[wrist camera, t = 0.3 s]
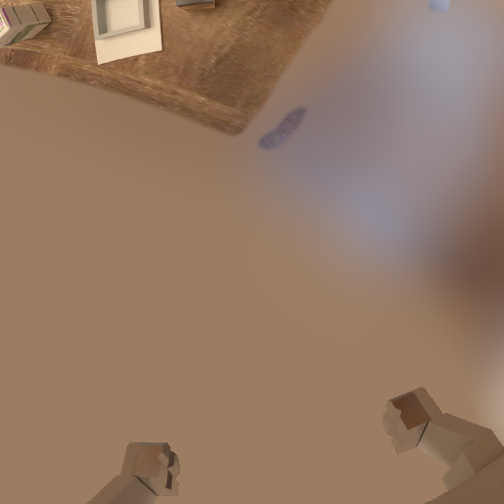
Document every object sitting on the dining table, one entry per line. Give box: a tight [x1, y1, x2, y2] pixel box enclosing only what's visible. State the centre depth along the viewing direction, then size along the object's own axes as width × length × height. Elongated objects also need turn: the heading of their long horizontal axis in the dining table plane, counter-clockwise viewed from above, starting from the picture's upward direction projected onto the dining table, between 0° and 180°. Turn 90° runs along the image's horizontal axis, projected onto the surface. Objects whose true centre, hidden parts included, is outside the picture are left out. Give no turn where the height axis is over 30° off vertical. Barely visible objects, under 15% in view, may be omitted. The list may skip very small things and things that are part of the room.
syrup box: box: [0, 3, 52, 48], centre depth 23 cm, size 6×6×14 cm
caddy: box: [91, 0, 163, 65], centre depth 31 cm, size 12×18×5 cm, turn 1°
